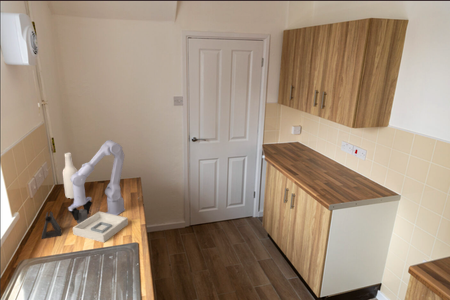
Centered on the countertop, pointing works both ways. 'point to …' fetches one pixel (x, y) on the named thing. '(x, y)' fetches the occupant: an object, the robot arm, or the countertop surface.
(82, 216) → the grey rectangular block
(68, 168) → the alcohol
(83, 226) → the box
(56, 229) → the phone stand
